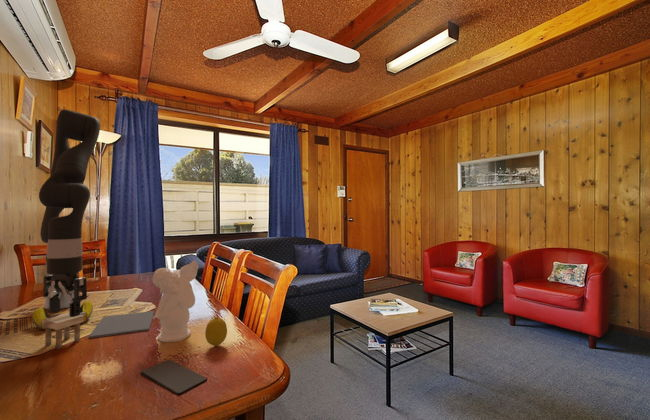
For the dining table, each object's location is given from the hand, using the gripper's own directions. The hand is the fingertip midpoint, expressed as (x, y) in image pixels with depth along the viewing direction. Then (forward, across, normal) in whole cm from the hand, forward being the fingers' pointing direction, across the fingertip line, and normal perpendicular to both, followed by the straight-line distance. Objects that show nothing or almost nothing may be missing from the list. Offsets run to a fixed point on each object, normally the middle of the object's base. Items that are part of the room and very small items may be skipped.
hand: (64, 314), depth 84 cm
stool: (+8, 0, 0) cm, 8 cm away
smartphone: (+9, -41, +2) cm, 42 cm away
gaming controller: (+8, +17, -10) cm, 21 cm away
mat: (+8, -2, -16) cm, 18 cm away
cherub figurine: (+8, -23, -16) cm, 29 cm away
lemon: (+8, -40, -13) cm, 43 cm away
